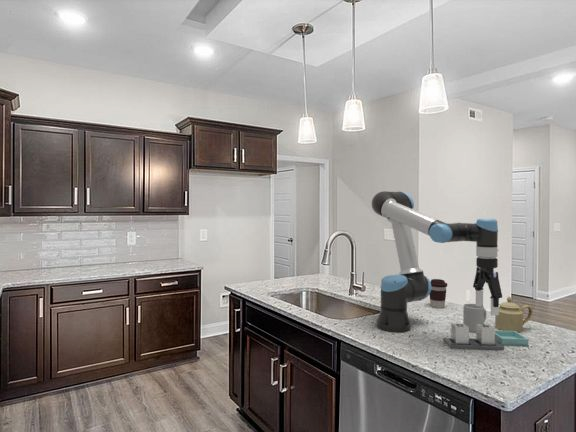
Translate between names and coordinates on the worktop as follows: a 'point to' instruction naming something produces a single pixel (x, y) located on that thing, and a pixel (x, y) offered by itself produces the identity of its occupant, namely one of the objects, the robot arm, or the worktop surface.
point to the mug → (473, 316)
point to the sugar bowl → (511, 316)
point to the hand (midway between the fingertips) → (486, 310)
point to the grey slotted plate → (473, 345)
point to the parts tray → (510, 338)
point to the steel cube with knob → (485, 334)
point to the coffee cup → (438, 293)
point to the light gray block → (459, 334)
